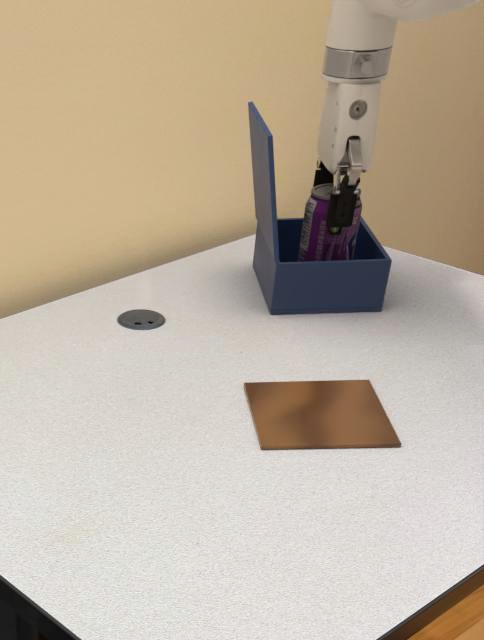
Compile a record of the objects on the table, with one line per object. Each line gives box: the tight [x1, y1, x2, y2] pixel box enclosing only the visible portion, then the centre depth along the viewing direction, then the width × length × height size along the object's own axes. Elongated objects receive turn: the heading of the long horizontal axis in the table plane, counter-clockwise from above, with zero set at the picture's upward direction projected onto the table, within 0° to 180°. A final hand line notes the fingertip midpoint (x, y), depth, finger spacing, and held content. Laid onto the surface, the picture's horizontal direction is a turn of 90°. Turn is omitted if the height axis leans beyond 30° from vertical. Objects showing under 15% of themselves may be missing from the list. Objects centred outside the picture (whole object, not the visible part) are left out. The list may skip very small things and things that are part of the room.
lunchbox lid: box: [247, 101, 279, 261], centre depth 114 cm, size 15×17×1 cm
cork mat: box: [243, 379, 402, 450], centre depth 96 cm, size 14×14×1 cm
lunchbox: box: [252, 216, 393, 316], centre depth 120 cm, size 14×17×7 cm
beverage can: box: [298, 183, 363, 262], centre depth 118 cm, size 7×7×12 cm
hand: (330, 213), depth 116 cm, fingers open, 9 cm apart
